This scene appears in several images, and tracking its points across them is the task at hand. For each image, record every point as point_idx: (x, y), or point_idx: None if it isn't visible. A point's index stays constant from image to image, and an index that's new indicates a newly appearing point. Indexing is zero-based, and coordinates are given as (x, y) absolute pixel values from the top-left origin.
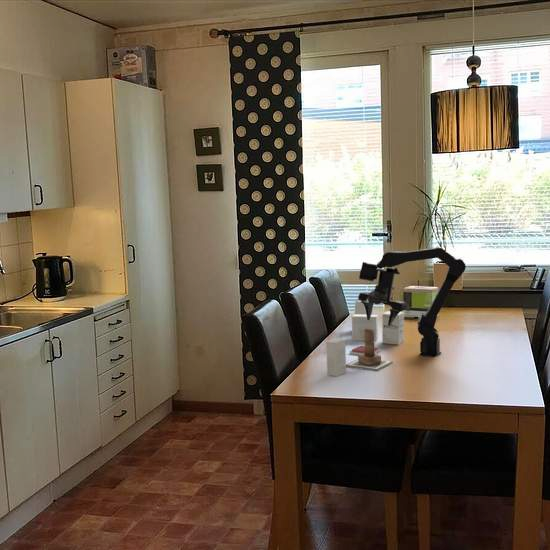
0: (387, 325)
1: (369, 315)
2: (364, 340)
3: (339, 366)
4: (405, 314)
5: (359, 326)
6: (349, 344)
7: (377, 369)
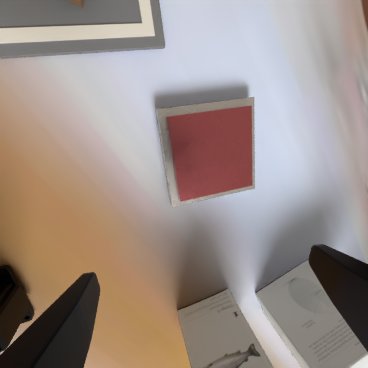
0: (243, 361)
1: (347, 290)
2: (285, 274)
3: None
4: None
5: None
6: (304, 214)
7: None
